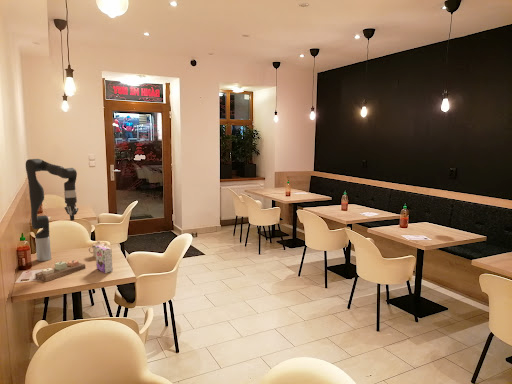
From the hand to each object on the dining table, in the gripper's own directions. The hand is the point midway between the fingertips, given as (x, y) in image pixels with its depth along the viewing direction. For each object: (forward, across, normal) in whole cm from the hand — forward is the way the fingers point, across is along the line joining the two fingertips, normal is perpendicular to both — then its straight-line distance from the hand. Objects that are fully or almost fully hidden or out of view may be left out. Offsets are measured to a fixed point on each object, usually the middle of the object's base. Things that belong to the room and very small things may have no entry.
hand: (72, 220), depth 273 cm
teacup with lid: (+32, -2, +20) cm, 38 cm away
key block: (+32, +9, -17) cm, 37 cm away
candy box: (+32, +30, +1) cm, 44 cm away
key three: (+31, +9, -8) cm, 33 cm away
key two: (+29, +9, -17) cm, 35 cm away
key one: (+31, +9, -26) cm, 41 cm away
